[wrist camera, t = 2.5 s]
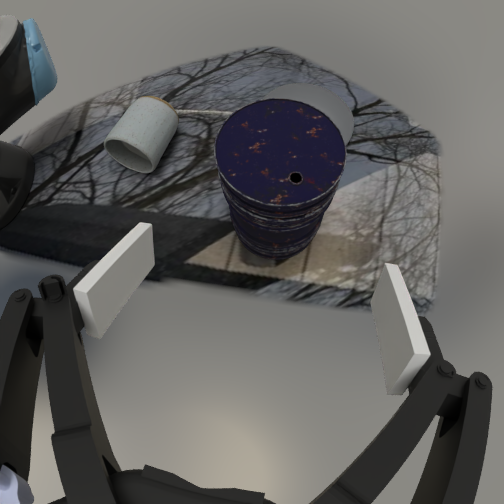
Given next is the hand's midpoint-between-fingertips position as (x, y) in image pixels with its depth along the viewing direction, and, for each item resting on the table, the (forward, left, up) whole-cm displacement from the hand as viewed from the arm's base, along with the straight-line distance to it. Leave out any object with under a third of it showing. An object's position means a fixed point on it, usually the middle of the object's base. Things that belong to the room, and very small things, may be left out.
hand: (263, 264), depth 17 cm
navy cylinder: (-8, +5, -17) cm, 20 cm away
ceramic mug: (-25, -6, -18) cm, 31 cm away
